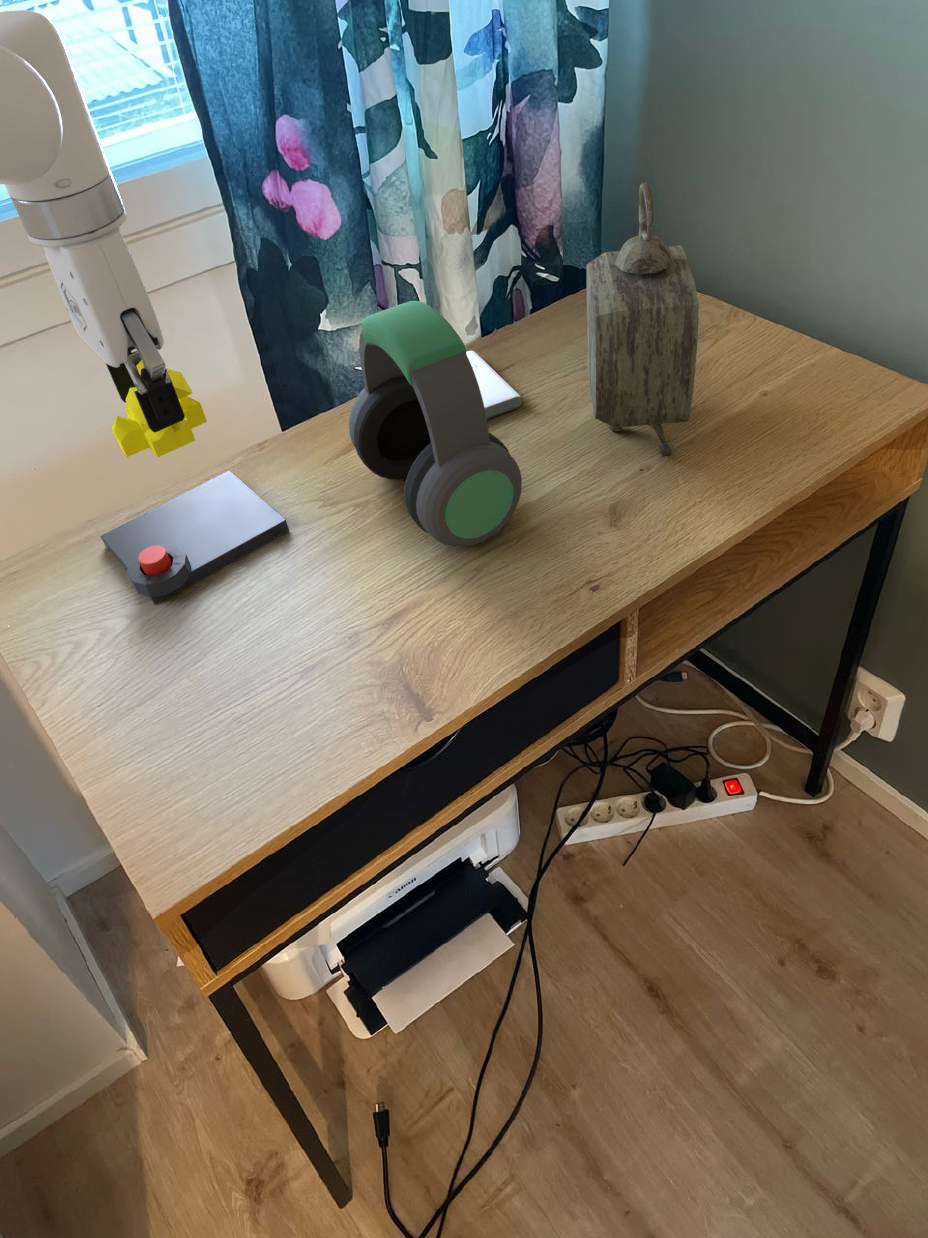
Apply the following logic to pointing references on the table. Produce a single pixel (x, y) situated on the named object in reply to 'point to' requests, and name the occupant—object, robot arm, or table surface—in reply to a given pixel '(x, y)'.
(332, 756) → the table surface
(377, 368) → the headphones
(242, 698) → the table surface
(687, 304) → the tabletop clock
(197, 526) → the scale
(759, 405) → the table surface
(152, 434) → the yellow crystal cluster
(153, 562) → the tare button
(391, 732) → the table surface
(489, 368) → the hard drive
